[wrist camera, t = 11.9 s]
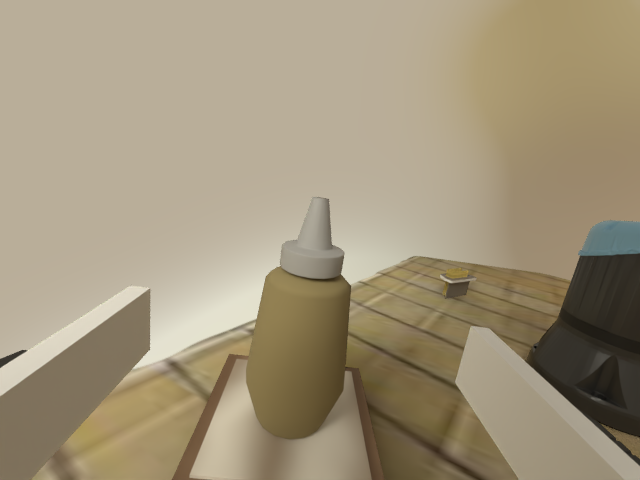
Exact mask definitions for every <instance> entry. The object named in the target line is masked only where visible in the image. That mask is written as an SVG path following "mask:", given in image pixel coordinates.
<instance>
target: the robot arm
mask: <svg viewBox="0 0 640 480" xmlns="http://www.w3.org/2000/svg"><path fill="white" fill-rule="evenodd" d="M578 255H580V258H579V261H578V264H577V267H576V269H575V272H574V275H573V278H572V280H571V283H570V286H569V288H568V291H567V294H566V296H565V299H564V302H563V305H562V308H561V311H560V313H559V316H558V318H557V320H556V321H555V323H554V324H553V325H552V326H551V327H550V328H549V329H548V330H547V332H546V333H545V334H544V335H543V337H542V338H541V339H540V341H539V342H538V343H536V344H534V345H533V347H532V348H531V350H530V352H529V355H528V358H527V361H526V362H525V361H524V360H523V359H522V358H521V357H520V356H519V355H518V354H516V353H515V352H514V351H513V350H512V349H511V348H510V347H509V346H508V345H507V344H505V343H504V342H503V341H502V340H501V339H500V338H499V337H498V336H497V335H496V334H495V333H493V332H492V331H491V330H490V329H489V328H484V327H475V326H471V327H470V331H469V335H468V338H467V342H466V345H465V349H464V352H463V356H462V360H461V363H460V367H459V370H458V374H457V378H456V381H455V383H456V385H457V386H458V388H459V389H460V391H461V392H462V394H463V395H464V397H465V398H466V400H467V401H468V403H469V405H470V406H471V408H472V409H473V411H474V412H475V414H476V415H477V417H478V418H479V420H480V421H481V423H482V424H483V426H484V427H485V429H486V430H487V432H488V433H489V435H490V436H491V438H492V439H493V441H494V443H495V444H496V446H497V447H498V449H499V450H500V452H501V453H502V455H503V456H504V458H505V459H506V461H507V462H508V464H509V465H510V467H511V468H512V470H513V471H514V473H515V474H516V476H517V477H518V479H519V480H640V459H639V458H638V457H636V456H635V455H632V454H631V451H630V450H629V449H628V448H626V447H625V446H624V445H623V444H622V443H621V442H620V441H616V438H615V437H614V436H613V435H612V434H611V433H610V432H608V431H607V430H606V429H605V428H604V427H603V426H602V425H601V424H600V423H598V422H597V421H599V422H601V423H603V424H605V425H608V426H610V427H613V428H615V429H618V430H620V431H623V432H626V433H629V434H633V435H636V436H640V222H633V221H612V220H610V221H603V222H600V223H598V224H596V225H595V226H593V227H592V228H591V230H590V232H589V234H588V236H587V239H586V241H585V244H584V246H583V248H582V250H580V251H579V253H578ZM149 350H150V288H144V287H136V286H129V287H128V288H126V289H125V290H123V291H121V292H120V293H118V294H117V295H115V296H113V297H112V298H110V299H109V300H107V301H106V302H104V303H102V304H101V305H99V306H98V307H96V308H94V309H93V310H91V311H90V312H88V313H87V314H85V315H84V316H82V317H80V318H79V319H77V320H75V321H74V322H72V323H71V324H69V325H68V326H66V327H64V328H63V329H61V330H60V331H58V332H56V333H55V334H53V335H52V336H50V337H49V338H47V339H45V340H44V341H42V342H41V343H39V344H37V345H36V346H34V347H33V348H31V349H30V350H21V351H19V352H16V353H14V354H12V355H9V356H6V357H4V358H2V359H0V480H31V479H32V478H33V477H34V475H35V474H36V473H37V472H38V471H39V470H40V469H41V468H42V467H43V466H44V465H45V463H46V462H47V461H48V460H49V459H50V458H51V457H52V456H53V455H54V454H55V453H56V451H57V450H58V449H59V448H60V447H61V446H62V445H63V444H64V443H65V442H66V441H67V439H68V438H69V437H70V436H71V435H72V434H73V433H74V432H75V431H76V430H77V428H78V427H79V426H80V425H81V424H82V423H83V422H84V421H85V420H86V419H87V418H88V416H89V415H90V414H91V413H92V412H93V411H94V410H95V409H96V408H97V407H98V406H99V404H100V403H101V402H102V401H103V400H104V399H105V398H106V397H107V396H108V395H109V394H110V392H111V391H112V390H113V389H114V388H115V387H116V386H117V385H118V384H119V383H120V382H121V380H122V379H123V378H124V377H125V376H126V375H127V374H128V373H129V372H130V371H131V370H132V368H133V367H134V366H135V365H136V364H137V363H138V362H139V361H140V360H141V358H142V357H143V356H144V355H145V354H146V353H147V352H148V351H149ZM596 420H597V421H596Z"/></svg>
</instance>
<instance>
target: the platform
mask: <svg viewBox="0 0 640 480" xmlns="http://www.w3.org/2000/svg"><path fill="white" fill-rule="evenodd" d="M461 270H462V268H456V269H447V273H446V274H441V275H440V277H441V278H442V279H443V280H445V281H446V283H445V287H444V290H443V294H444V295H445V298H451V297H457V296H462V295H466V293H467V289H468V285H469V282H470V281H473V280H476V277H474V276H471V275H468V271H469V270H467V271H461ZM445 291H446V292H445Z"/></svg>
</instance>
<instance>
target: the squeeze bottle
mask: <svg viewBox="0 0 640 480" xmlns="http://www.w3.org/2000/svg"><path fill="white" fill-rule="evenodd" d="M343 259H344V251H343V250H341V249H340V248H338V247H336V246H333V245H332V242H331V226H330V210H329V199H326V198H320V197H313V198H312V200H311V203H310V206H309V209H308V212H307V214H306V217H305V220H304V223H303V226H302V228H301V231H300V234H299V237H298V240H292V241H287V242H285V243H284V244H283V245H282V250H281V259H280V265H281V266H280V267H277V268H275V269H274V270H272V271H271V272H270V273H269V274H268V275H267V276H266V279H265V283H264V288H263V292H262V297H261V302H260V306H259V311H258V316H257V320H256V325H255V329H254V334H253V339H252V343H251V348H250V353H249V357H248V362H247V367H246V384H247V387H248V391H249V394H250V397H251V401H252V404H253V407H254V411H255V414H256V417H257V419H258V421H259V422H260V424H261V426H262V427H263V428H264V429H265V430H267V431H268V432H270V433H271V434H273V435H274V436H277V437H281V438H285V439H299V438H305V437H307V436H309V435H311V434H313V433H315V432H316V431H317V430H318V429H319V428H320V426H321V425H322V424H323V422H324V421H325V419H326V418H327V416H328V414H329V413H330V411H331V410H332V408H333V406H334V405H335V403H336V402H337V400H338V399H339V397H340V395H341V394H342V392H343V389H344V378H345V364H346V350H347V336H348V322H349V308H350V294H351V285H350V284H349V283H348V282H347V281H346V280H345V278H344V277H343V276H342V275H341V271H342V265H343Z"/></svg>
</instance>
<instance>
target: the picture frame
mask: <svg viewBox="0 0 640 480" xmlns="http://www.w3.org/2000/svg"><path fill="white" fill-rule="evenodd" d="M248 357H249V356H242V355H233V354H229V356H228V358H227V361H226V363H225V365H224V367H223V369H222V371H221V374H220V376H219V378H218V380H217V382H216V385H215V387H214V389H213V391H212V393H211V396H210V398H209V400H208V402H207V404H206V406H205V409H204V411H203V413H202V415H201V417H200V420H199V422H198V424H197V426H196V428H195V431H194V433H193V435H192V437H191V439H190V441H189V444H188V446H187V448H186V450H185V452H184V455H183V457H182V459H181V461H180V463H179V466H178V468H177V470H176V472H175V474H174V476H173V479H172V480H384V475H383V471H382V467H381V462H380V458H379V454H378V449H377V445H376V441H375V436H374V432H373V428H372V423H371V419H370V415H369V411H368V406H367V402H366V398H365V393H364V389H363V385H362V380H361V376H360V372H359V369H358V368H349V367H345V378H344V389H343V392H342V394H341V395H340V397H339V399H338V400H337V402H336V403H335V405H334V406H333V408H332V410H331V411H330V413H329V414H328V416H327V418H326V419H325V421H324V422H323V424H322V425H321V426H320V428H319V429H318V430H317V431H316V432H315V433H313V434H311V435H309V436H307V437H305V438H299V439H285V438H281V437H277V436H274V435H273V434H271V433H270V432H268V431H267V430H265V429H264V428H263V427H262V426H261V424H260V422H259V421H258V419H257V417H256V414H255V411H254V407H253V404H252V401H251V397H250V394H249V391H248V387H247V384H246V367H247V362H248Z"/></svg>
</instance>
